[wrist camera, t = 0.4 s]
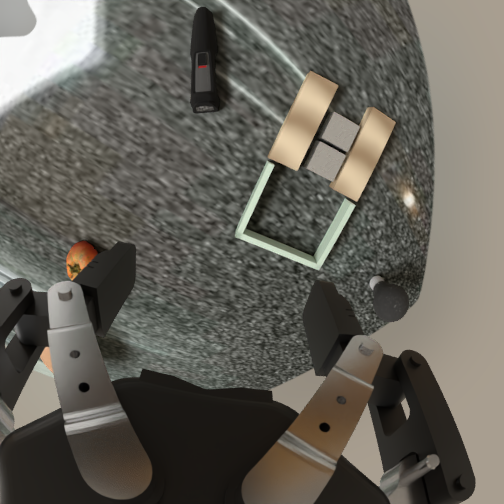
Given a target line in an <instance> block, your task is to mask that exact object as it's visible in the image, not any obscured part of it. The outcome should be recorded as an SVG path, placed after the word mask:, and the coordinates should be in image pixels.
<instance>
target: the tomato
mask: <svg viewBox="0 0 504 504" xmlns="http://www.w3.org/2000/svg"><path fill="white" fill-rule="evenodd" d="M96 255H97V251H96V250H95V249H94V247H93V246H92V245H91V244H89V243H87V242H86V241H80V242H78V243H76V244H74V246H73V247H72V248H71V250H70V251H69V253H68V256H67V271H68V276H69V277H70V279H71V280H73V279H74V278H75V277H76V276H77V275H78V274H79V273H80V272H81V271H82V270H83V269H84V267H86V266H87V264H88V263H89V262H91V260H92V259H93V258H94V257H95V256H96Z"/></svg>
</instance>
